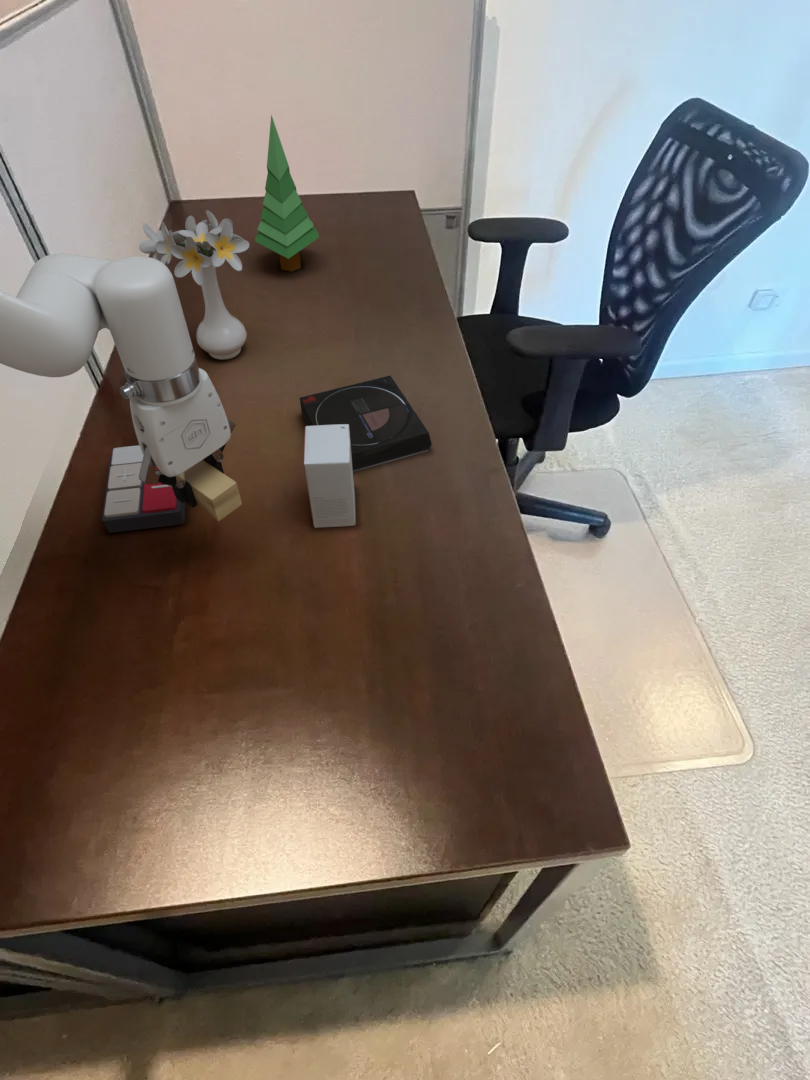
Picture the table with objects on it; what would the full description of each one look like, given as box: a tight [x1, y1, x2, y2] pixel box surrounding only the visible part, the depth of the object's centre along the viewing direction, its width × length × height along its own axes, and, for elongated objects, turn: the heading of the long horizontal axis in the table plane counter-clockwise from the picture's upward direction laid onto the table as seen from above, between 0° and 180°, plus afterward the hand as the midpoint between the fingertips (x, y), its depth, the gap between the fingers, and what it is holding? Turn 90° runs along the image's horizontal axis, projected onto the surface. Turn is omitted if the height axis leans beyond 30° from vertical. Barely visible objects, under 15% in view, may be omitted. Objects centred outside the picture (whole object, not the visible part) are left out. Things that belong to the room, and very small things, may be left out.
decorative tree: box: [254, 114, 320, 272], centre depth 139 cm, size 14×16×30 cm
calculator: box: [101, 444, 186, 534], centre depth 102 cm, size 11×4×15 cm
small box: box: [303, 424, 357, 529], centre depth 97 cm, size 8×6×13 cm
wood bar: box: [169, 460, 243, 522], centre depth 87 cm, size 11×4×4 cm, turn 50°
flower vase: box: [138, 209, 250, 361], centre depth 119 cm, size 13×18×25 cm
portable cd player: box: [299, 375, 433, 473], centre depth 111 cm, size 16×17×4 cm
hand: (202, 490), depth 88 cm, fingers closed on wood bar, 4 cm apart
